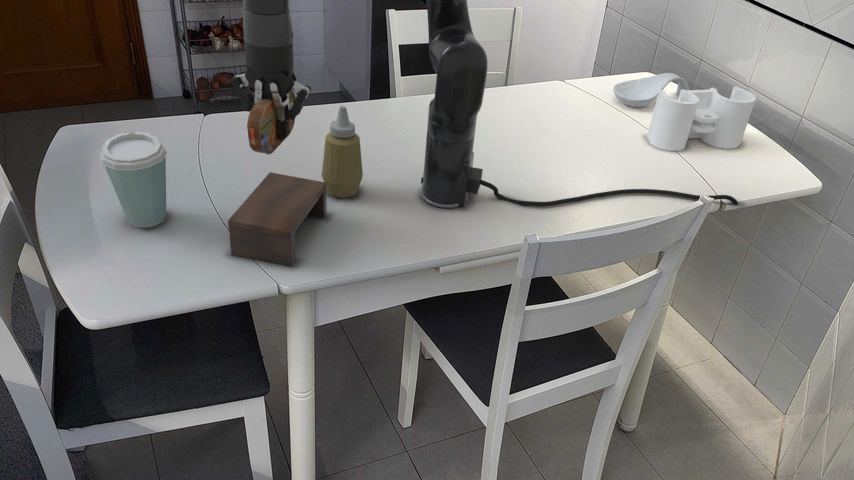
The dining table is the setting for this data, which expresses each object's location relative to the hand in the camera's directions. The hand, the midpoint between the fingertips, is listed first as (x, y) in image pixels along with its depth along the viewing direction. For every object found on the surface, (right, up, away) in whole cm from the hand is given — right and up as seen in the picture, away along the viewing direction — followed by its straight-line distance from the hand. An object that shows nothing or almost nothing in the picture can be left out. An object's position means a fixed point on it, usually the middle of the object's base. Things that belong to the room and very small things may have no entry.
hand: (273, 136), depth 127 cm
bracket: (+91, +10, +57) cm, 108 cm away
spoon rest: (+85, +24, +76) cm, 116 cm away
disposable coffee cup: (-25, -14, +6) cm, 29 cm away
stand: (0, -16, +7) cm, 18 cm away
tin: (0, -1, +1) cm, 1 cm away
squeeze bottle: (+9, -7, +21) cm, 24 cm away
